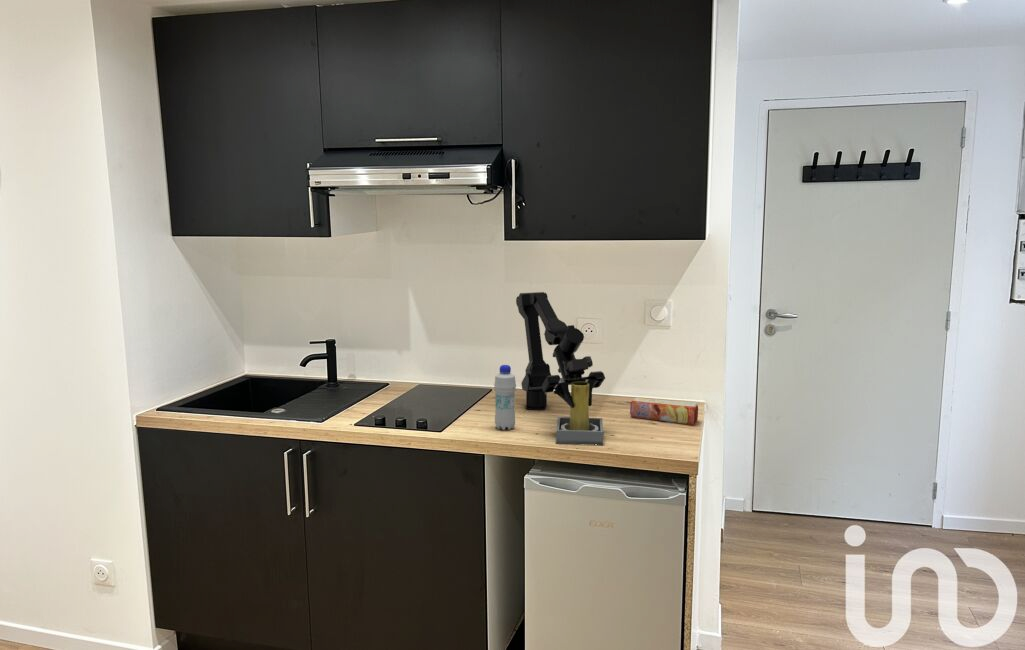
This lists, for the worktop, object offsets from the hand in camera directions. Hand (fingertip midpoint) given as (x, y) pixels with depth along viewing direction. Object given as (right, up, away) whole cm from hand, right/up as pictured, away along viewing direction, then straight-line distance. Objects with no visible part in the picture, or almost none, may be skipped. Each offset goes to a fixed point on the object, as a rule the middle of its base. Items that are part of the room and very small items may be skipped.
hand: (581, 406), depth 222 cm
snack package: (+28, -7, +20) cm, 35 cm away
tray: (0, -9, +3) cm, 10 cm away
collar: (0, -9, +3) cm, 10 cm away
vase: (-1, -7, +3) cm, 8 cm away
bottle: (-23, -8, +11) cm, 27 cm away
